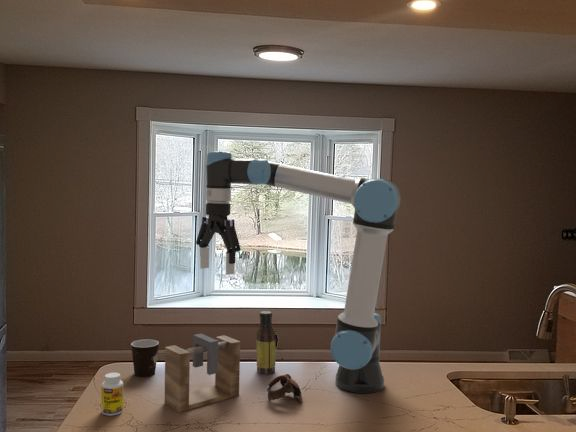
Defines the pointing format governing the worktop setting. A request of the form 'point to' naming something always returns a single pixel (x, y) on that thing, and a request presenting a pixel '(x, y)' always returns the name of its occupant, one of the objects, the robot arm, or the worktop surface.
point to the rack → (180, 369)
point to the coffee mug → (144, 357)
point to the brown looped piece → (284, 388)
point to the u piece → (211, 353)
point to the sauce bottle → (265, 344)
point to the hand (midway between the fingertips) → (216, 271)
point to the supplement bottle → (112, 395)
